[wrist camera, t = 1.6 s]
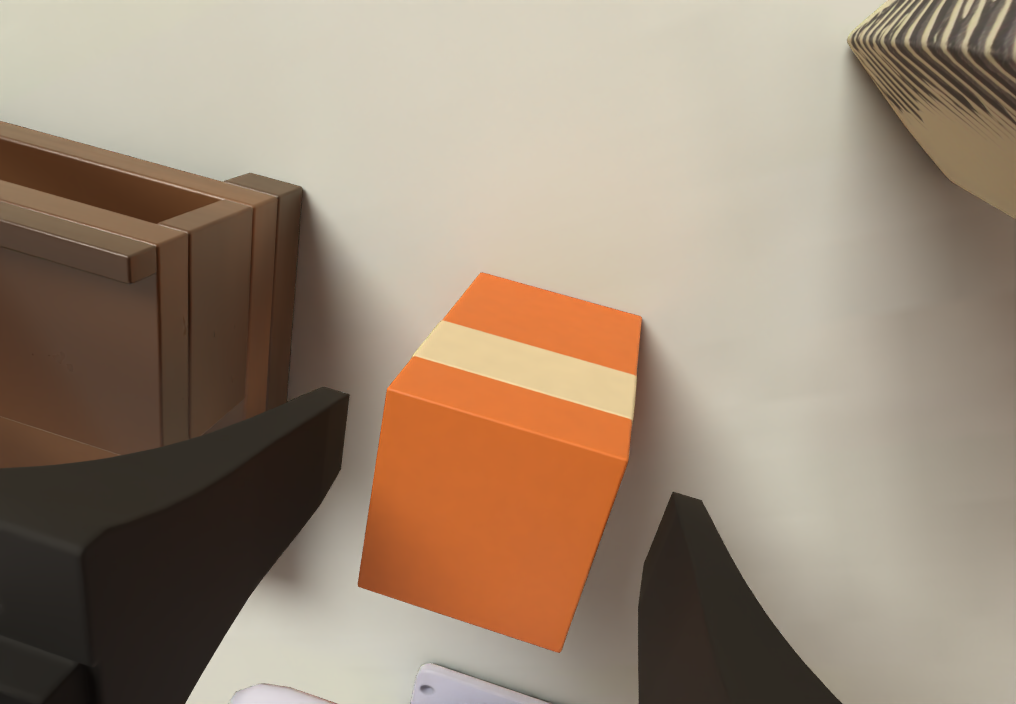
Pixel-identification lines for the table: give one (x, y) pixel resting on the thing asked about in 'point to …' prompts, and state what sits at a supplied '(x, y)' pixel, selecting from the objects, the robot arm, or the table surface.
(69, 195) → the wooden desk organizer
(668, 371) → the table surface
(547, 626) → the packet
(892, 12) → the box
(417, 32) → the table surface
